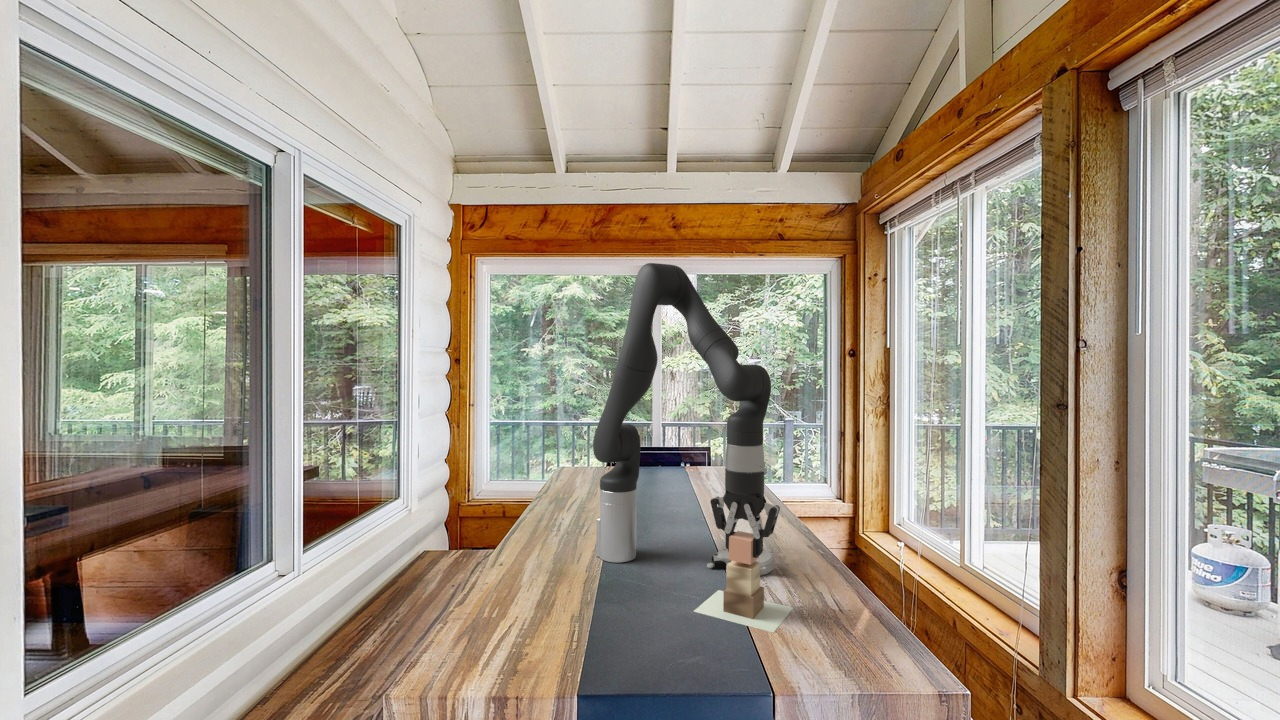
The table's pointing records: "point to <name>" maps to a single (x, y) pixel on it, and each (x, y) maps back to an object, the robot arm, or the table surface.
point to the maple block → (743, 577)
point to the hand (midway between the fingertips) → (744, 553)
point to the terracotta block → (741, 547)
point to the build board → (763, 620)
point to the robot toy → (765, 560)
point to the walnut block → (744, 603)
